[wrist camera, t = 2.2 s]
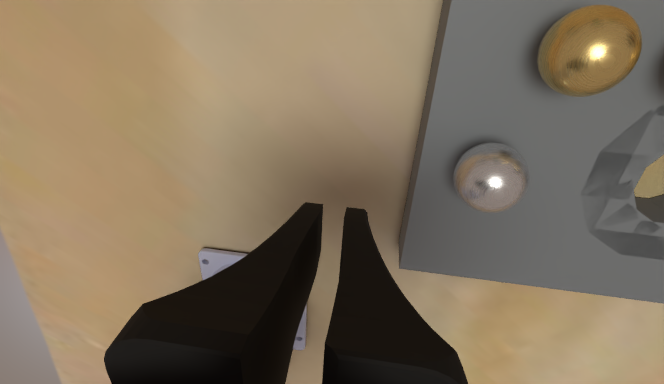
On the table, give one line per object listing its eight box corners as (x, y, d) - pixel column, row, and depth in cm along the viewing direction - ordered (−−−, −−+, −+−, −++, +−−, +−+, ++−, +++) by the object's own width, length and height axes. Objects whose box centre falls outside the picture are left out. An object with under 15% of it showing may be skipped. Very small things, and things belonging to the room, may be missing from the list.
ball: (506, 193, 19) (526, 231, 16) (443, 186, 19) (451, 222, 17) (527, 135, 17) (552, 166, 15) (457, 128, 18) (469, 157, 15)
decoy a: (593, 87, 16) (635, 112, 13) (516, 81, 16) (541, 103, 13) (628, 4, 14) (684, 12, 12) (541, -1, 15) (576, 5, 12)
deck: (398, 242, 25) (399, 268, 22) (446, -18, 17) (454, -16, 15) (691, 279, 23) (722, 311, 21) (895, 10, 15) (977, 17, 13)
